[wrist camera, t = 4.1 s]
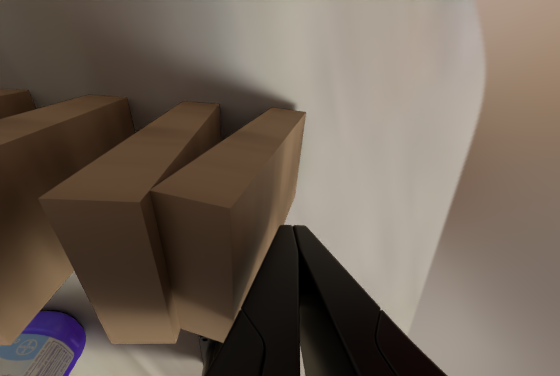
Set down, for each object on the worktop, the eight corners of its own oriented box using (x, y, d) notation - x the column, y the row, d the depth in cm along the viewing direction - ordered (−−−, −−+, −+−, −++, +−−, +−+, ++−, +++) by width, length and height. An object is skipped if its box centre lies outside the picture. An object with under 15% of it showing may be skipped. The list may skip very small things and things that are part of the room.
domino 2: (223, 188, 15) (176, 343, 7) (193, 186, 15) (111, 344, 7) (219, 103, 12) (139, 202, 5) (182, 101, 12) (38, 198, 4)
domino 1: (146, 184, 14) (10, 345, 7) (115, 183, 14) (-62, 346, 7) (126, 97, 12) (-128, 192, 4) (88, 94, 12) (-248, 188, 4)
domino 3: (295, 195, 15) (234, 346, 7) (267, 189, 15) (180, 328, 7) (306, 112, 12) (230, 208, 5) (271, 107, 13) (149, 189, 5)
